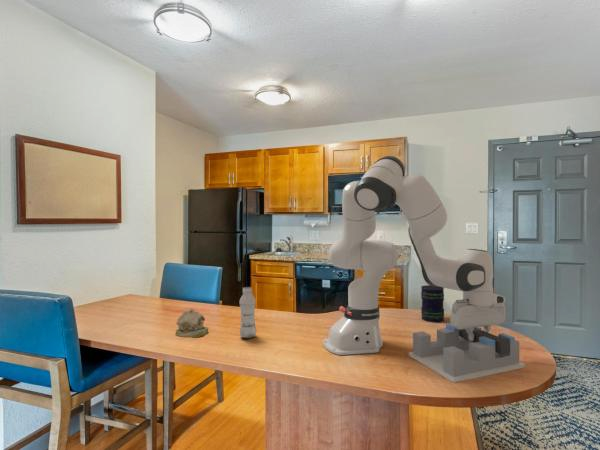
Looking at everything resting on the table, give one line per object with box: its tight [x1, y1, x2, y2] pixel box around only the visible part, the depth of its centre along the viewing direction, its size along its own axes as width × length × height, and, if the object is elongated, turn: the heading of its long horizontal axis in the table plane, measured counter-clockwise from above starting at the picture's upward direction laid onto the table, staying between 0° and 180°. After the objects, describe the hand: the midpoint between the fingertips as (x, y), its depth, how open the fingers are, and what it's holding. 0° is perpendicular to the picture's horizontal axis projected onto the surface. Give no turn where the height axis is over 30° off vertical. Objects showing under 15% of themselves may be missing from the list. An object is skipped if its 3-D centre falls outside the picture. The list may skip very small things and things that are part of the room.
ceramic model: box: [175, 308, 209, 338], centre depth 137 cm, size 14×11×10 cm
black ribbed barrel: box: [420, 284, 445, 324], centre depth 151 cm, size 10×10×15 cm
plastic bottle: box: [239, 286, 257, 339], centre depth 131 cm, size 6×7×20 cm
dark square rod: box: [459, 328, 510, 354], centre depth 108 cm, size 4×20×4 cm, turn 18°
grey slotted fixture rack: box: [408, 323, 526, 384], centre depth 106 cm, size 28×20×10 cm
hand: (478, 339), depth 108 cm, fingers closed on dark square rod, 4 cm apart
